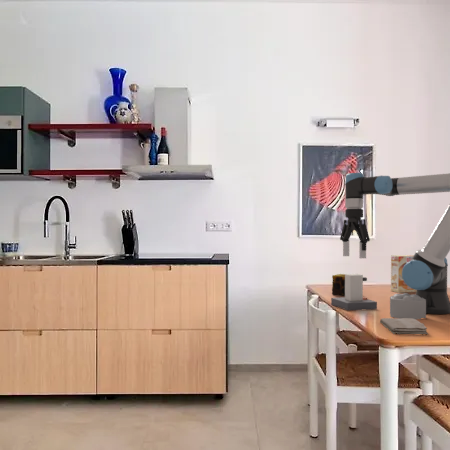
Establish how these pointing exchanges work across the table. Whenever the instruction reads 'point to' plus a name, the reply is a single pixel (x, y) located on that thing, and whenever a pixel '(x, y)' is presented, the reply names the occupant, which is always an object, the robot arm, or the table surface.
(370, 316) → the table surface
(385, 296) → the table surface
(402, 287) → the coffeecake box
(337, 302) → the socket
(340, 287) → the candle
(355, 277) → the plug
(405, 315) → the lumpy-topped squat cylinder
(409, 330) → the washcloth
